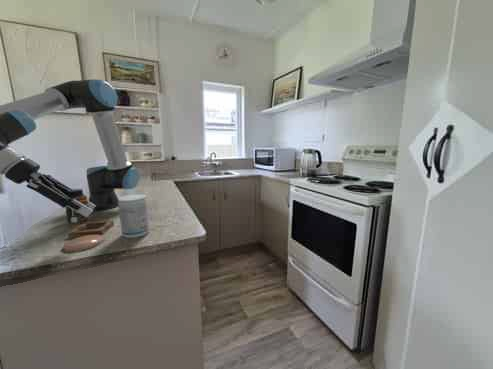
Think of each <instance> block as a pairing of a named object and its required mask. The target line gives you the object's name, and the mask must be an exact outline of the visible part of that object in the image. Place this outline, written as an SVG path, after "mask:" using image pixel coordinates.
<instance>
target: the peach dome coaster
mask: <svg viewBox="0 0 493 369" xmlns="http://www.w3.org/2000/svg"><path fill="white" fill-rule="evenodd" d="M104 241H105V240H104V236H103V235H87V236H82V237H78V238H72V239H71V240H68V241H67V242H65V243H64V245H63V249H64V251H65V252H69V253H70V252H71V253H73V252H83V251H86V250H88V249H89V250H90V249H92V248H95V247H97V246H100V245H101V244H102V243H103V242H104Z"/></svg>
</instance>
